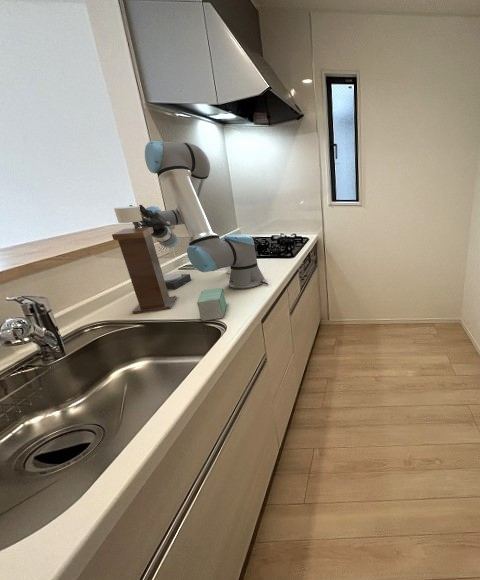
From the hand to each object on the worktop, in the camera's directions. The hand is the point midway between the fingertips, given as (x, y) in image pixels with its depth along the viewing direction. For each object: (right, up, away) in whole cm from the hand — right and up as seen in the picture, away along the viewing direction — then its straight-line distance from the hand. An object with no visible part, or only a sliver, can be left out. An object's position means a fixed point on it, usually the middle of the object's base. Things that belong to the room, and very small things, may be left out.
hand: (135, 208), depth 120 cm
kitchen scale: (-7, -29, +28) cm, 41 cm away
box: (+31, -40, -2) cm, 51 cm away
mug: (+18, -22, +47) cm, 54 cm away
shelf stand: (+4, -38, +5) cm, 38 cm away
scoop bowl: (+1, -4, -1) cm, 4 cm away
